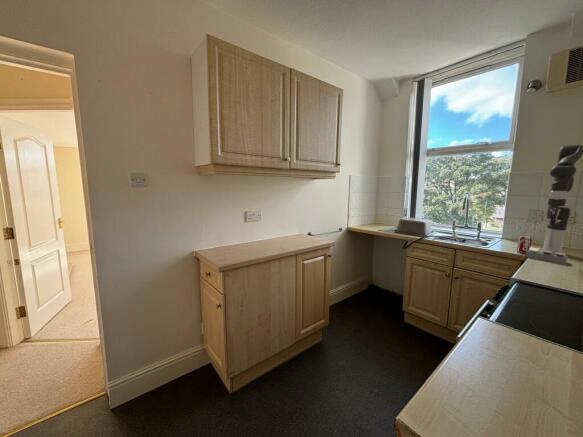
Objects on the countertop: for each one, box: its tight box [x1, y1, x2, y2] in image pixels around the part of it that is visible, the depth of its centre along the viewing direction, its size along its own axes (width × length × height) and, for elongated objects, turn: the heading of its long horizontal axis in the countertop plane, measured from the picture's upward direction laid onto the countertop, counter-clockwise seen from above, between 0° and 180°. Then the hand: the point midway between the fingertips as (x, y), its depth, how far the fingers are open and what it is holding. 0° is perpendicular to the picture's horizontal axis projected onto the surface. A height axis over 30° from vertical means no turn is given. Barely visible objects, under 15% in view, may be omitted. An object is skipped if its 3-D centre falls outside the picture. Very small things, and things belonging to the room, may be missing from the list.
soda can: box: [516, 235, 533, 254], centre depth 173 cm, size 7×7×12 cm
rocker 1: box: [529, 245, 540, 252], centre depth 162 cm, size 6×4×1 cm, turn 126°
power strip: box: [525, 250, 569, 266], centre depth 158 cm, size 8×18×5 cm, turn 37°
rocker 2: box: [555, 252, 567, 256], centre depth 153 cm, size 6×4×1 cm, turn 127°
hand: (552, 225), depth 155 cm, fingers closed
